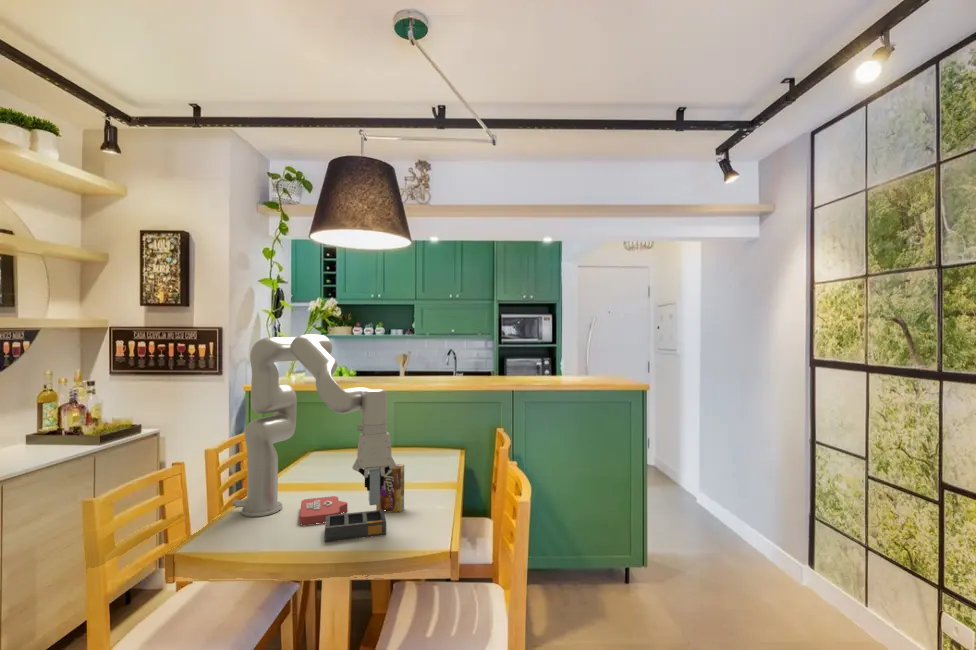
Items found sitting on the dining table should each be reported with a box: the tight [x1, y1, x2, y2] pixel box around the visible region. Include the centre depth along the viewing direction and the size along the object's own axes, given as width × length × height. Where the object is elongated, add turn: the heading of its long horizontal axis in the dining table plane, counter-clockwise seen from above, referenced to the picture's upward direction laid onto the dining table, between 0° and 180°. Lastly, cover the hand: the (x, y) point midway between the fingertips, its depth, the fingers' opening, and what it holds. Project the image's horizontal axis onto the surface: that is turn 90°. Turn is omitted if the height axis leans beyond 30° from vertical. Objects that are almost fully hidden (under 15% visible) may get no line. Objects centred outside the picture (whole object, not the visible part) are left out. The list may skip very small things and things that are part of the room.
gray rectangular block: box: [368, 467, 380, 506], centre depth 148 cm, size 3×6×10 cm, turn 17°
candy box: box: [375, 463, 405, 513], centre depth 165 cm, size 9×4×15 cm, turn 82°
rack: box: [324, 510, 387, 543], centre depth 146 cm, size 17×11×4 cm, turn 107°
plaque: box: [299, 495, 348, 526], centre depth 161 cm, size 18×4×15 cm
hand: (374, 488), depth 148 cm, fingers closed on gray rectangular block, 3 cm apart
